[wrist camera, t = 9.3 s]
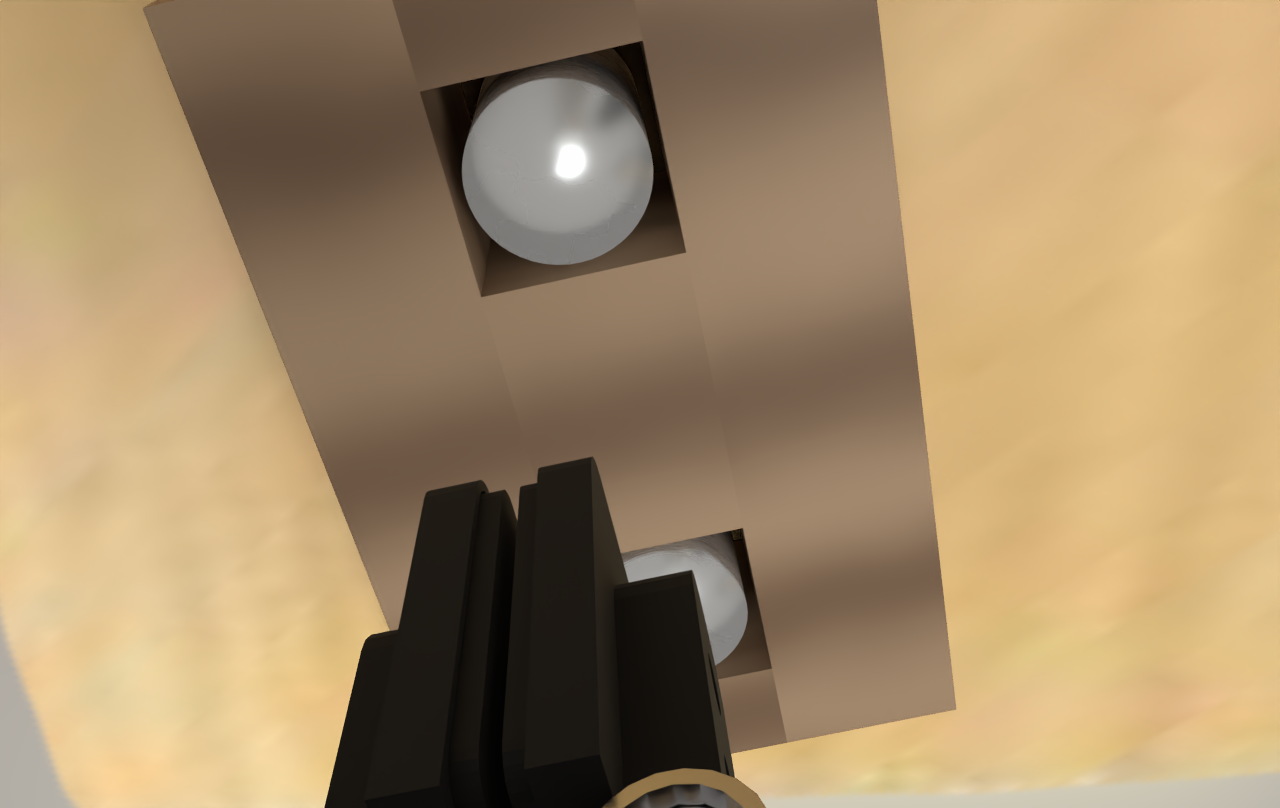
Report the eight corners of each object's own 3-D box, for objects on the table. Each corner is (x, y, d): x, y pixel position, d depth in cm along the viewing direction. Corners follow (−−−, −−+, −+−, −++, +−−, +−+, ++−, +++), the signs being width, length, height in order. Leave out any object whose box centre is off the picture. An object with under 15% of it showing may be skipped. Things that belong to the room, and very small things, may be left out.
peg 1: (460, 47, 29) (438, 103, 24) (620, 10, 29) (631, 59, 24) (503, 202, 31) (490, 282, 26) (653, 168, 31) (670, 242, 26)
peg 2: (574, 460, 35) (576, 572, 30) (709, 431, 34) (733, 540, 29) (605, 569, 36) (611, 692, 32) (733, 543, 36) (759, 662, 31)
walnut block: (222, -36, 28) (142, 8, 23) (802, -174, 27) (859, -161, 22) (474, 664, 38) (460, 806, 33) (901, 578, 38) (956, 709, 32)
